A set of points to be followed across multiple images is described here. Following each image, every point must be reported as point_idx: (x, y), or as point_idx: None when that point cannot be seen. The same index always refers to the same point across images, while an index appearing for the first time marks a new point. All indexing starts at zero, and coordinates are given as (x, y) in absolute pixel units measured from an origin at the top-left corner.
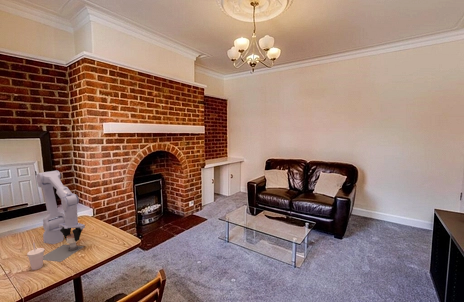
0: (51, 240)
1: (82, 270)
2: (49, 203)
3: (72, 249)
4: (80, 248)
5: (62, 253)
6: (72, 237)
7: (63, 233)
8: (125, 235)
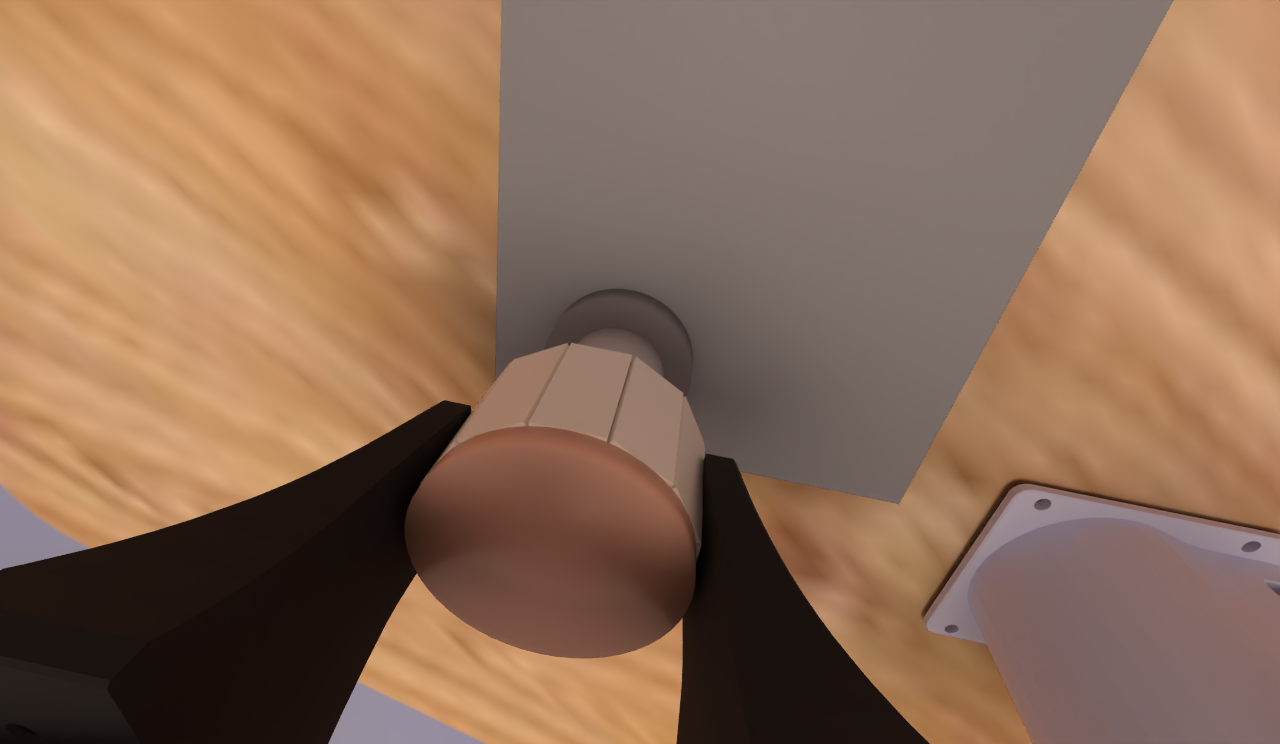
0: (1177, 594)
1: None
2: None
3: (578, 305)
4: None
5: (721, 215)
6: (446, 457)
7: (793, 634)
8: None
